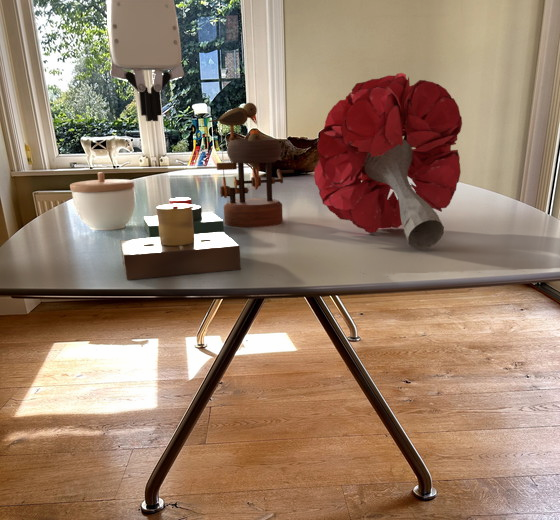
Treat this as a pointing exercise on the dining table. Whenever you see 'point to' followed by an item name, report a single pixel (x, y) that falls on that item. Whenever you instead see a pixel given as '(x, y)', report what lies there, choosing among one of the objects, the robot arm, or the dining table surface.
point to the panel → (179, 256)
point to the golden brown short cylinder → (175, 224)
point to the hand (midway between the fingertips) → (151, 120)
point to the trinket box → (104, 202)
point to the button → (181, 201)
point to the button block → (201, 223)
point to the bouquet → (391, 157)
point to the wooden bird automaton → (254, 152)
